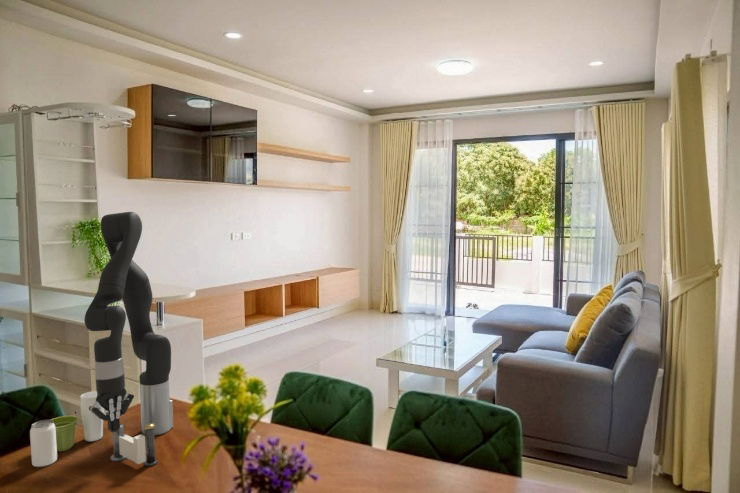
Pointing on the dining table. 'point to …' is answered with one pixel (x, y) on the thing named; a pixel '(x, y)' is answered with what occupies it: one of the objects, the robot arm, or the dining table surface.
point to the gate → (133, 448)
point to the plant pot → (65, 431)
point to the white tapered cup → (91, 417)
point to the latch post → (150, 445)
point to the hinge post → (117, 445)
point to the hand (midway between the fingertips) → (114, 431)
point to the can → (43, 443)
